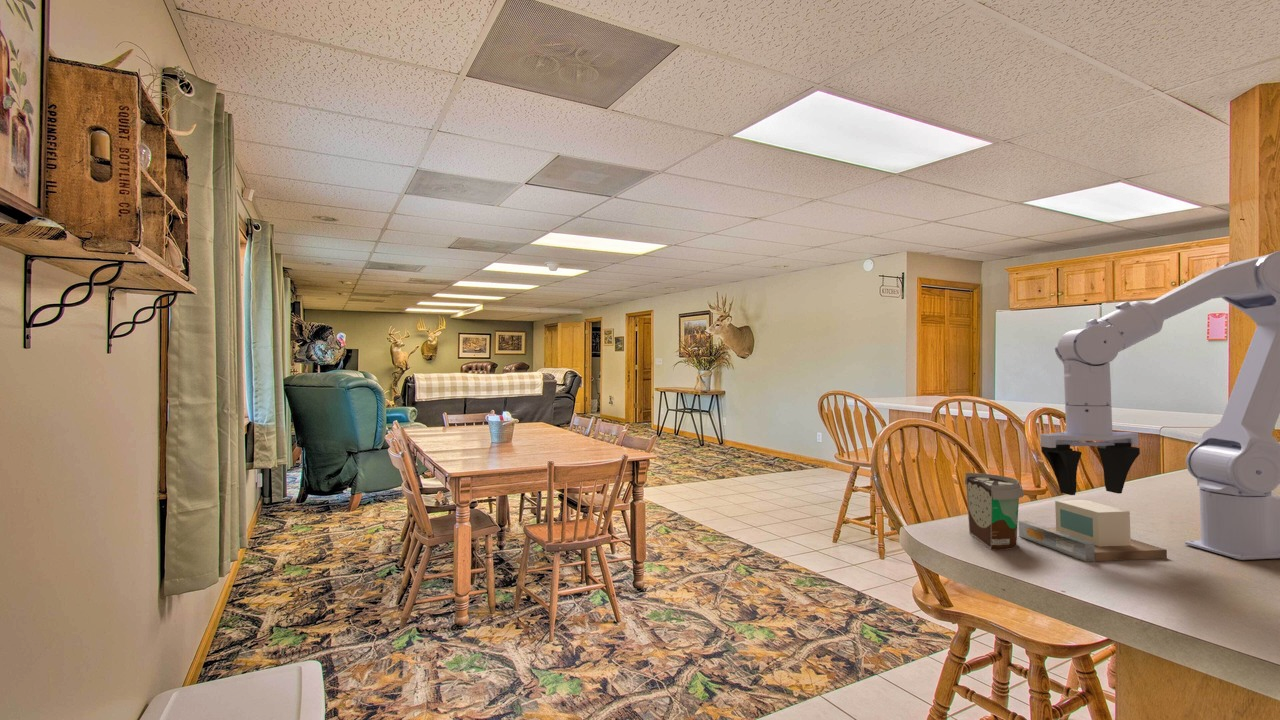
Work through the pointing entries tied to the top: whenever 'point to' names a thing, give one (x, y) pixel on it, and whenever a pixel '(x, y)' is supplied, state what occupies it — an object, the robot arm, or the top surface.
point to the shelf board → (1128, 552)
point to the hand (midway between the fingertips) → (1091, 493)
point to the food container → (993, 509)
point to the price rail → (1057, 541)
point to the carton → (1093, 522)
